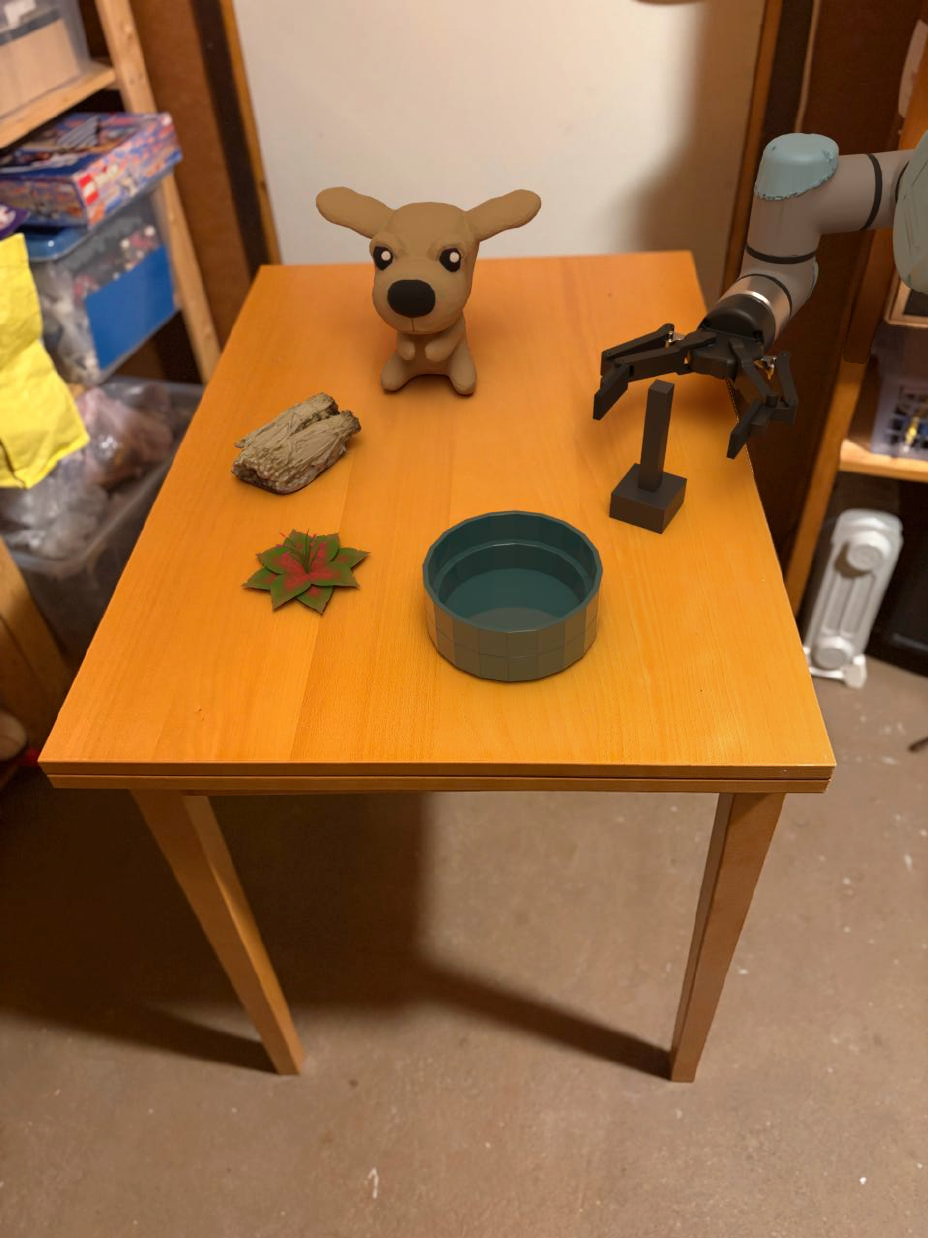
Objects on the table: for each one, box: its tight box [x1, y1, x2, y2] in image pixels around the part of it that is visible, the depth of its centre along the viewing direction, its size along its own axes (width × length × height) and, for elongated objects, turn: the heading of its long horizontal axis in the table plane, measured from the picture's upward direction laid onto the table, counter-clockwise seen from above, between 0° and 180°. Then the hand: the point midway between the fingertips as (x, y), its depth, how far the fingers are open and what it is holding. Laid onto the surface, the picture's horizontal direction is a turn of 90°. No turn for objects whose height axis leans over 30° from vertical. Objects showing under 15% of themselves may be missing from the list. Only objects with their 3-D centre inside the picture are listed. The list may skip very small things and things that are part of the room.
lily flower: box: [239, 528, 372, 615], centre depth 86 cm, size 12×12×5 cm
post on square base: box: [608, 378, 688, 534], centre depth 87 cm, size 6×6×14 cm
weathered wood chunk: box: [229, 391, 362, 494], centre depth 99 cm, size 14×10×5 cm, turn 142°
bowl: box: [421, 509, 604, 682], centre depth 80 cm, size 15×15×6 cm
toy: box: [315, 186, 542, 395], centre depth 105 cm, size 25×20×20 cm
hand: (662, 426), depth 87 cm, fingers open, 13 cm apart
